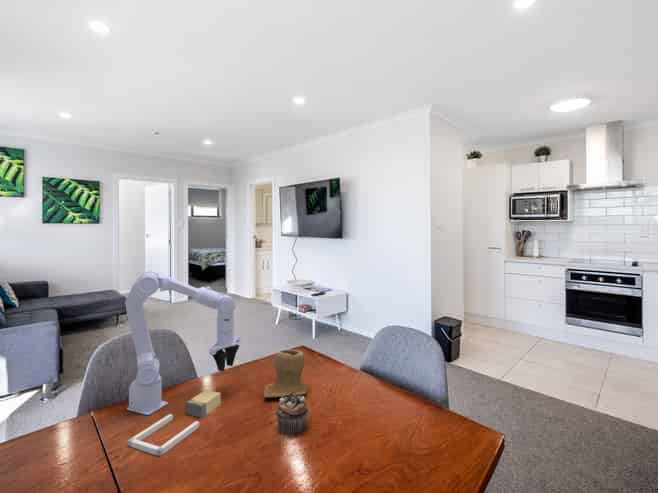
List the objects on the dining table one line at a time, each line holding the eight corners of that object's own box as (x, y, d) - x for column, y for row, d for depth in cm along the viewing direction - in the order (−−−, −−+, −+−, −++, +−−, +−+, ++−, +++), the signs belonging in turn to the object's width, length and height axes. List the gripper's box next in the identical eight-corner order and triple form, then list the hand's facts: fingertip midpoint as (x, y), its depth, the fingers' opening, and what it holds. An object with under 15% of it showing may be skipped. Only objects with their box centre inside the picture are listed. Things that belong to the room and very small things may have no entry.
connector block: (186, 414, 108) (186, 402, 108) (206, 401, 117) (206, 389, 116) (201, 418, 106) (201, 405, 106) (220, 404, 114) (220, 392, 114)
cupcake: (314, 423, 104) (314, 391, 103) (295, 440, 95) (295, 405, 95) (289, 414, 109) (289, 383, 108) (268, 429, 100) (268, 396, 100)
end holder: (127, 445, 92) (127, 440, 92) (169, 418, 106) (169, 414, 105) (159, 456, 88) (159, 450, 88) (199, 426, 101) (199, 421, 101)
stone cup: (304, 383, 130) (304, 344, 130) (308, 399, 119) (308, 356, 118) (264, 386, 128) (264, 347, 127) (263, 402, 116) (263, 359, 115)
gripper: (221, 337, 112) (221, 378, 113) (247, 325, 126) (247, 362, 126) (203, 334, 115) (204, 374, 115) (231, 323, 128) (231, 359, 129)
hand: (225, 367), depth 121 cm, fingers open, 4 cm apart
